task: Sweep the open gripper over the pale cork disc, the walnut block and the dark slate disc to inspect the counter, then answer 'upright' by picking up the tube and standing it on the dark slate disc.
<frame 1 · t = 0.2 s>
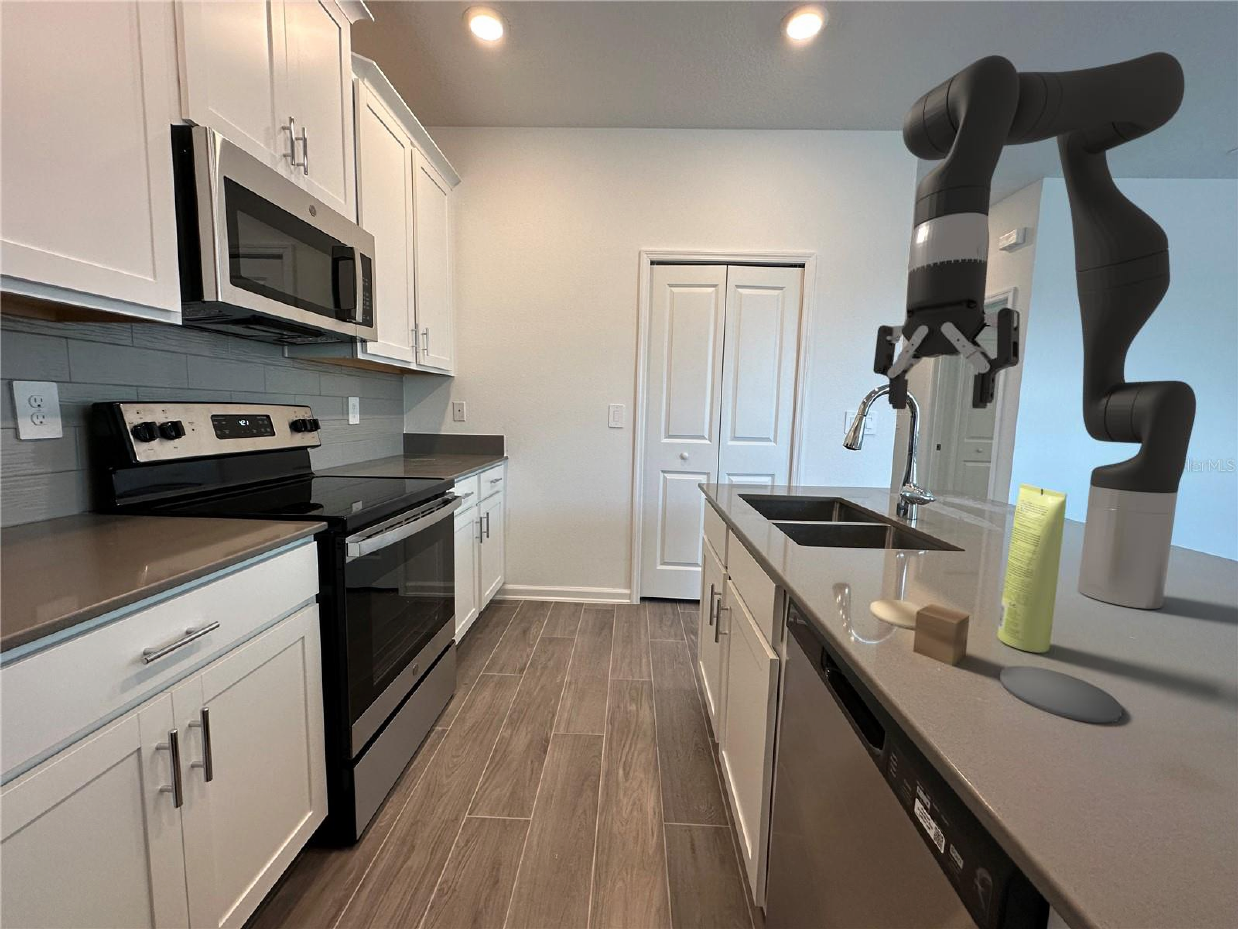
hand: (936, 408, 57), 29 cm above the counter, fingers open, 8 cm apart
walnut block: (939, 654, 57), on the counter
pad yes: (1056, 694, 49), on the counter
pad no: (906, 616, 68), on the counter
tube: (1023, 646, 60), on the counter
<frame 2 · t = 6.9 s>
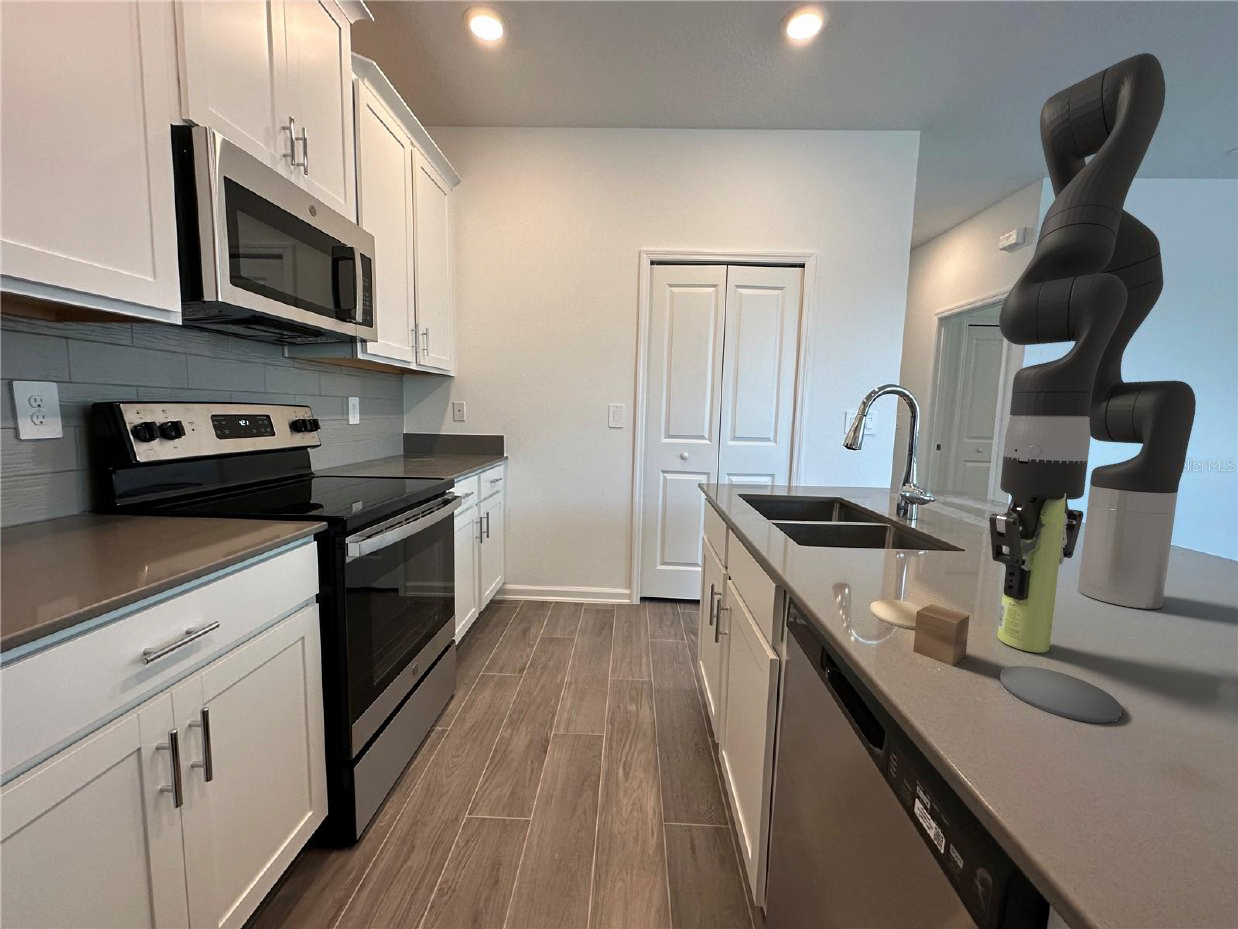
hand: (1029, 594, 59), 6 cm above the counter, fingers closed on tube, 4 cm apart
tube: (1023, 646, 60), on the counter, touching gripper
everything else where it was.
when the fingers open (8 cm above the counter, at t = 13.0 s): tube stays where it is, resting on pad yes.
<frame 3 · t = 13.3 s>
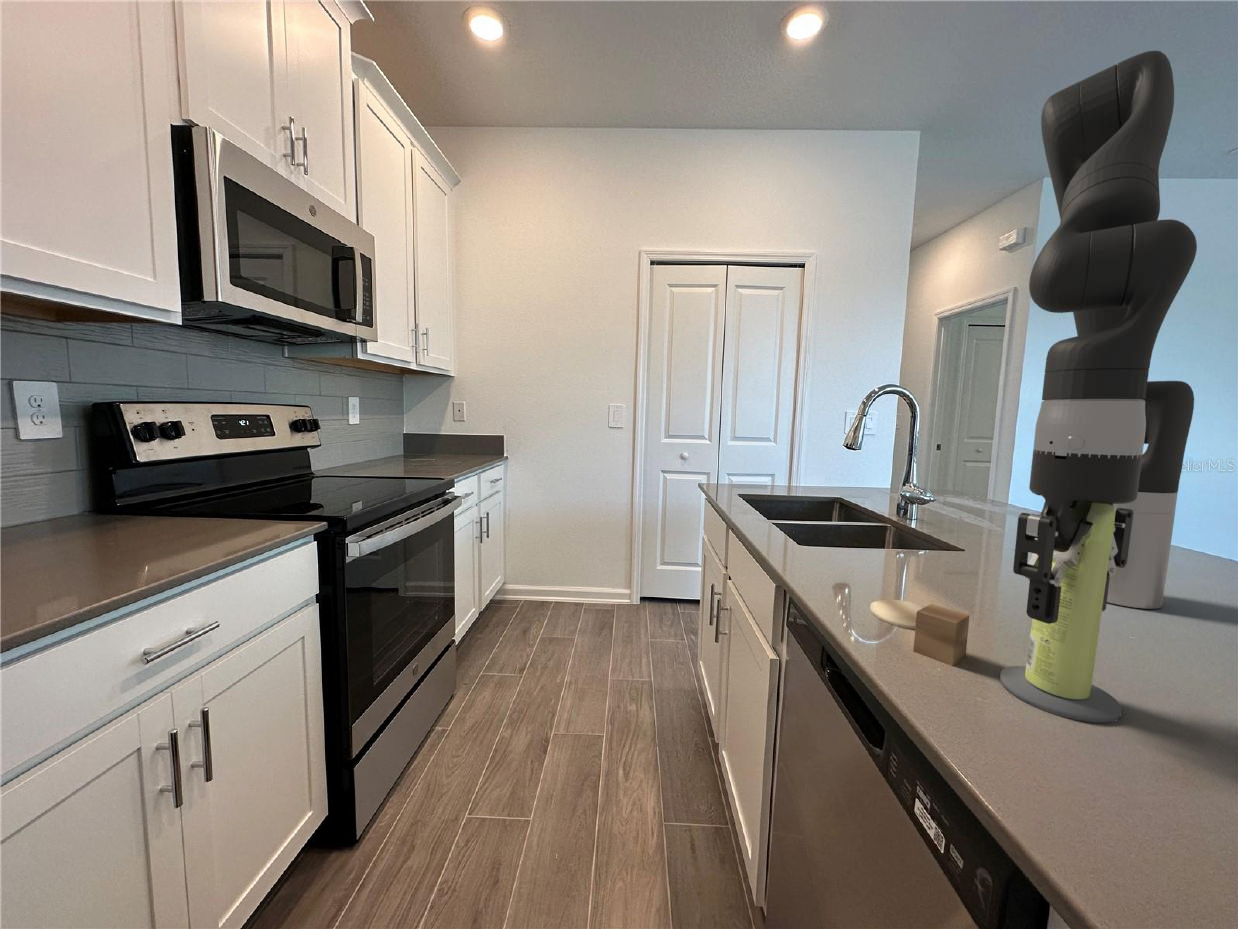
hand: (1065, 614, 48), 8 cm above the counter, fingers open, 7 cm apart
tube: (1057, 690, 49), resting on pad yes
everything else where it was.
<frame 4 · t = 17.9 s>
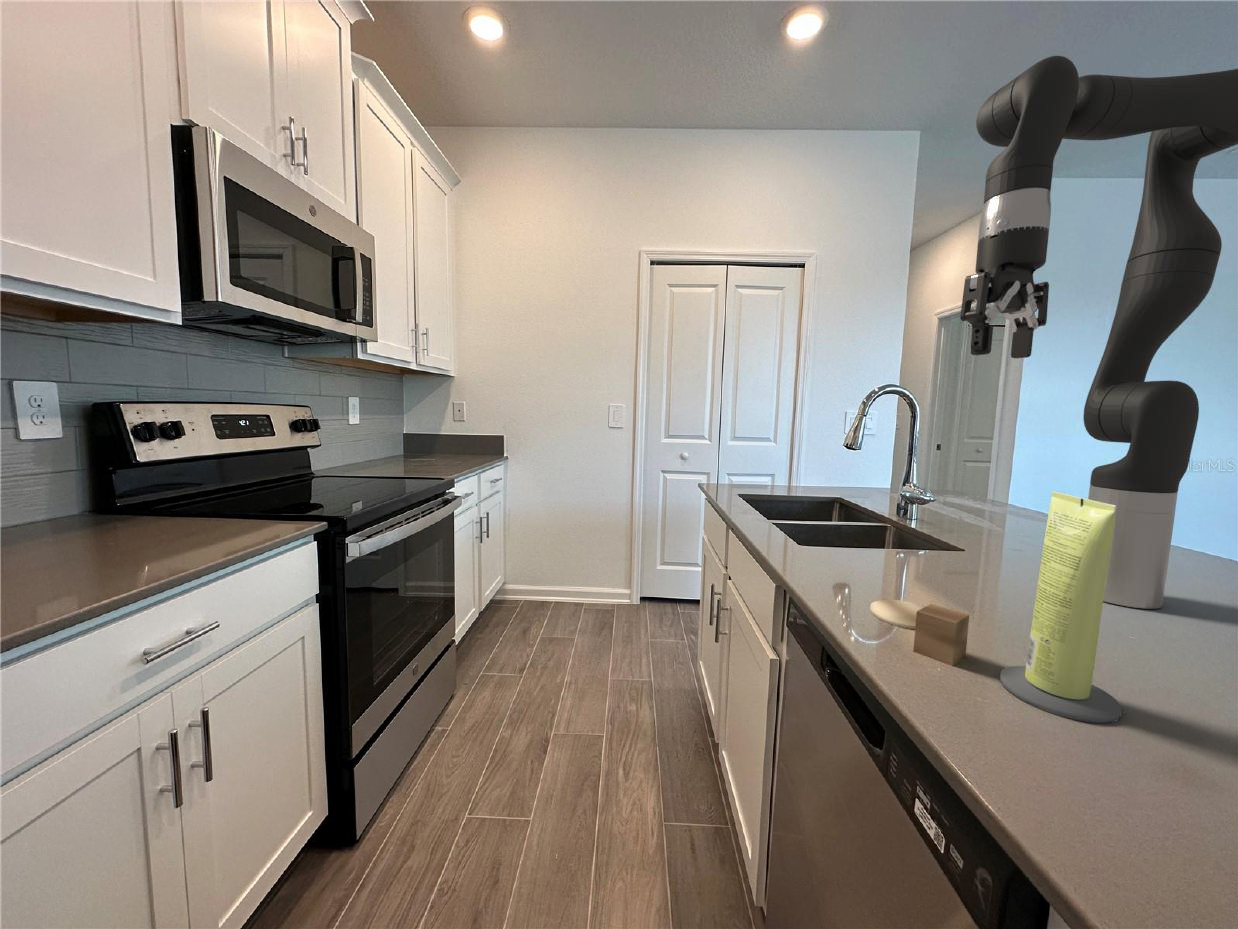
hand: (1000, 356, 67), 36 cm above the counter, fingers open, 8 cm apart
nothing on the counter moved.
at the end: tube 0.2 cm from the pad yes (horizontally); tube tilted 0°; the gripper is holding nothing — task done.
